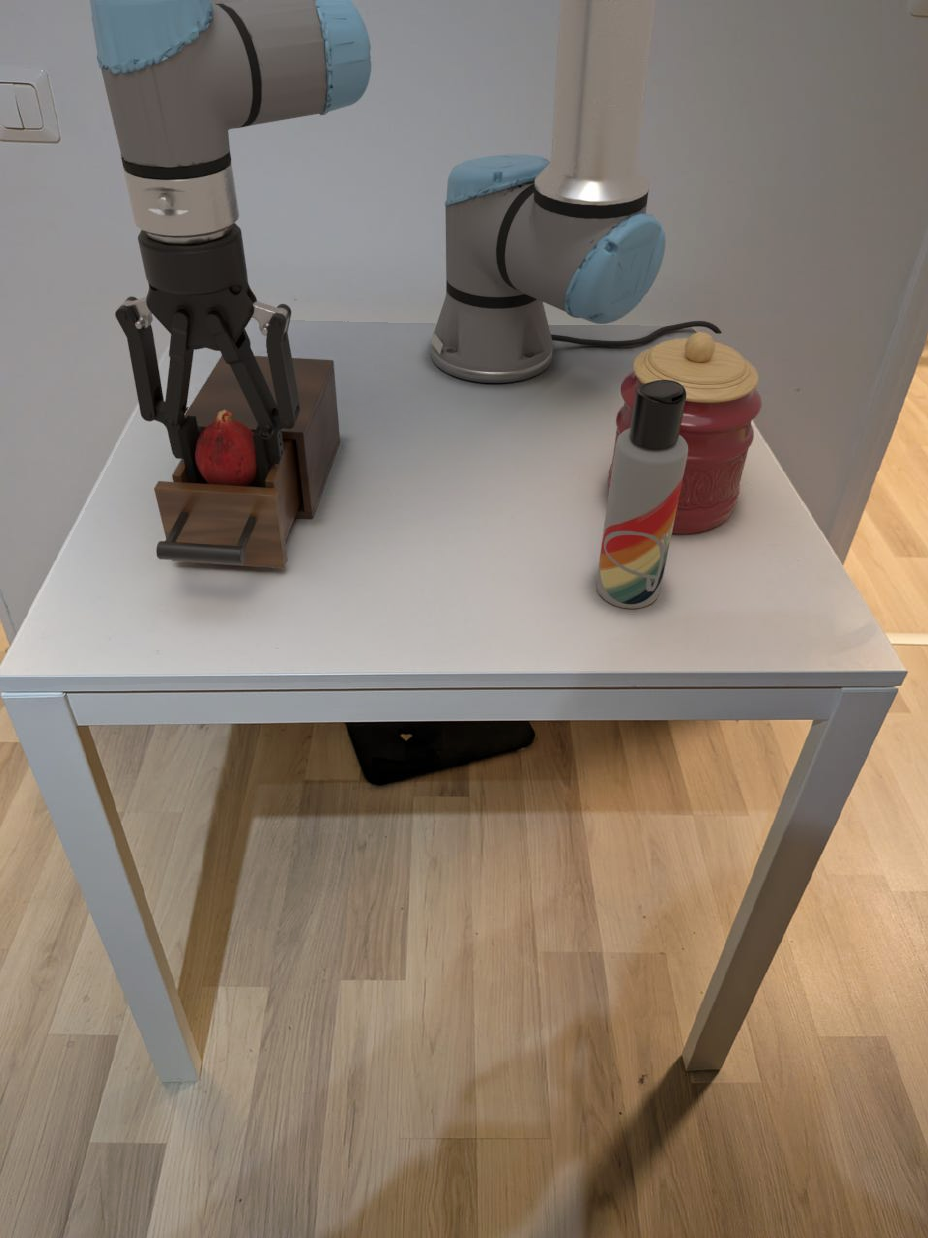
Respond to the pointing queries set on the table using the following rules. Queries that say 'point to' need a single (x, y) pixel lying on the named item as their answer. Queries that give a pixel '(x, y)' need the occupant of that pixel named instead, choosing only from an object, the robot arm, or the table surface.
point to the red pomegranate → (226, 452)
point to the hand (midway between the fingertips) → (234, 488)
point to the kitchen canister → (702, 421)
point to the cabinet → (310, 430)
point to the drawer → (230, 516)
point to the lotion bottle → (643, 497)
